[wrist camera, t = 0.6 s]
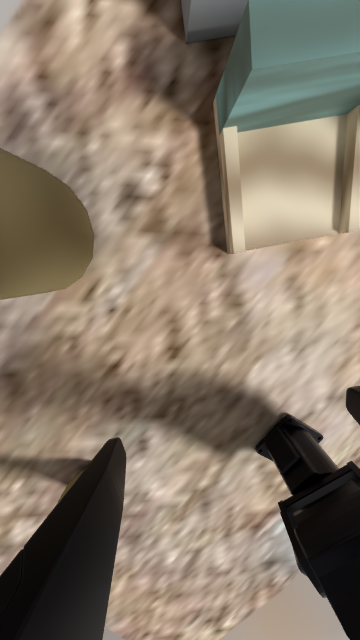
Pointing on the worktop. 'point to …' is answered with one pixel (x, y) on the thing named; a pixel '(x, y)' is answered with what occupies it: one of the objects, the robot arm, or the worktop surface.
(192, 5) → the backstop wall
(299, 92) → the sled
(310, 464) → the robot arm
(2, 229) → the squeeze bottle
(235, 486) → the worktop surface
